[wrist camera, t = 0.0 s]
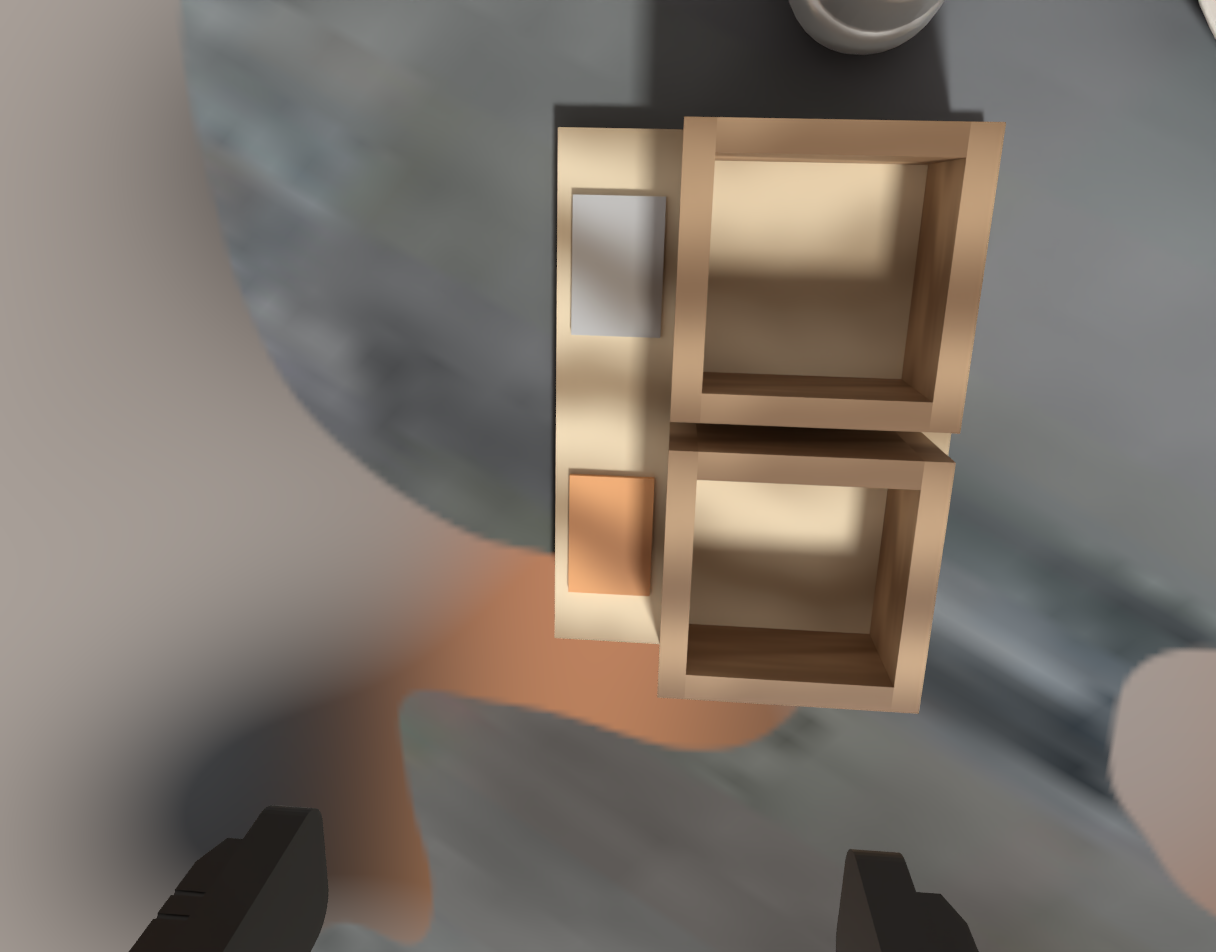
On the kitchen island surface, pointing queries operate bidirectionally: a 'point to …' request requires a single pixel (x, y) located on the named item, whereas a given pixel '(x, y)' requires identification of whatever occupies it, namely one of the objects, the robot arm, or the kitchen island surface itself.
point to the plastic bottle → (863, 22)
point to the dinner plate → (1209, 13)
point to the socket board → (765, 395)
